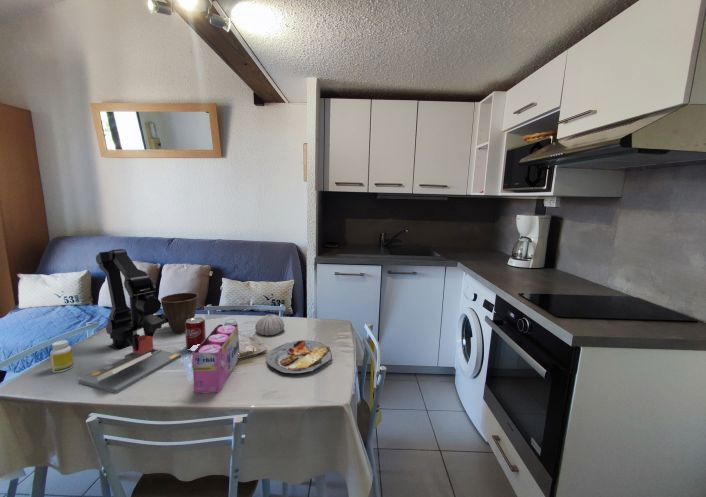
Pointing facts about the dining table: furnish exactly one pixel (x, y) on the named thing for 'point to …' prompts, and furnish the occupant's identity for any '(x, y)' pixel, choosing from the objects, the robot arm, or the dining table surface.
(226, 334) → the gum box
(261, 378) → the dining table surface
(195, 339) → the soda can
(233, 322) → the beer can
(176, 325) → the plant pot
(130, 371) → the panel
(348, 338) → the dining table surface
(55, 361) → the supplement bottle
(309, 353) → the food plate
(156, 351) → the socket
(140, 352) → the red block
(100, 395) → the dining table surface
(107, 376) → the yellow-striped white slab
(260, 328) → the sea urchin shell
